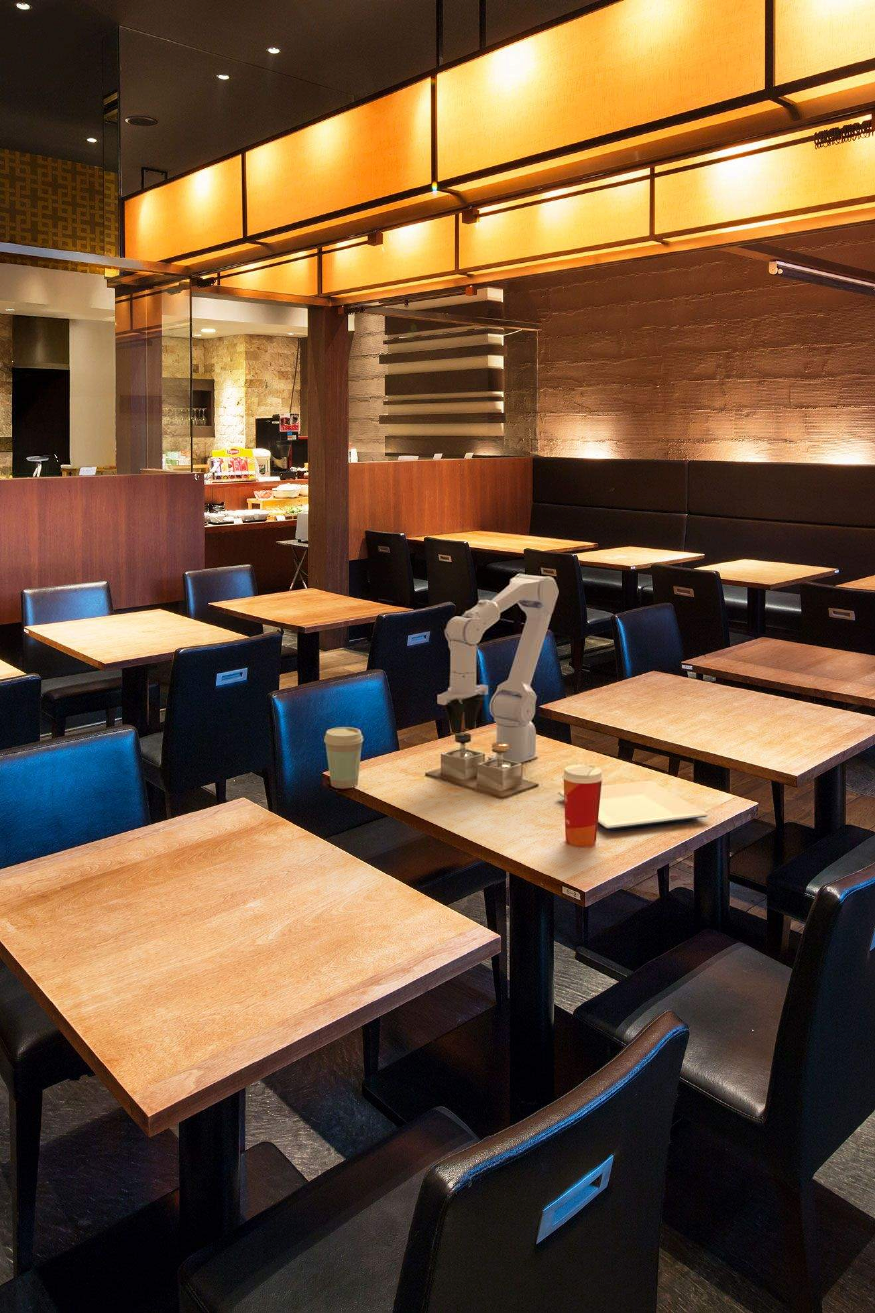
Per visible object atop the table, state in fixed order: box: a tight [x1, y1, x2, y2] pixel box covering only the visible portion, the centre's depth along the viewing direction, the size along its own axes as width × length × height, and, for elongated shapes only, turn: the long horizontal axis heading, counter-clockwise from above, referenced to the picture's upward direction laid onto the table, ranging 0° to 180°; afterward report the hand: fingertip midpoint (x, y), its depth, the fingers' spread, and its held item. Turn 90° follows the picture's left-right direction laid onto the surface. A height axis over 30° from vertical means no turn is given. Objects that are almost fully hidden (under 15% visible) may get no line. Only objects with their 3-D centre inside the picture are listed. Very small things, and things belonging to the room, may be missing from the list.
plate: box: [557, 780, 709, 830], centre depth 206 cm, size 22×22×2 cm
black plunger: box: [452, 732, 473, 759], centre depth 227 cm, size 5×5×5 cm
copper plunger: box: [489, 741, 511, 770], centre depth 220 cm, size 5×5×5 cm
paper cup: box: [561, 764, 605, 848], centre depth 188 cm, size 8×8×14 cm
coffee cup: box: [323, 726, 364, 790], centre depth 221 cm, size 8×9×12 cm
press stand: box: [424, 747, 539, 800], centre depth 224 cm, size 12×23×5 cm, turn 46°
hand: (462, 730), depth 227 cm, fingers open, 4 cm apart
